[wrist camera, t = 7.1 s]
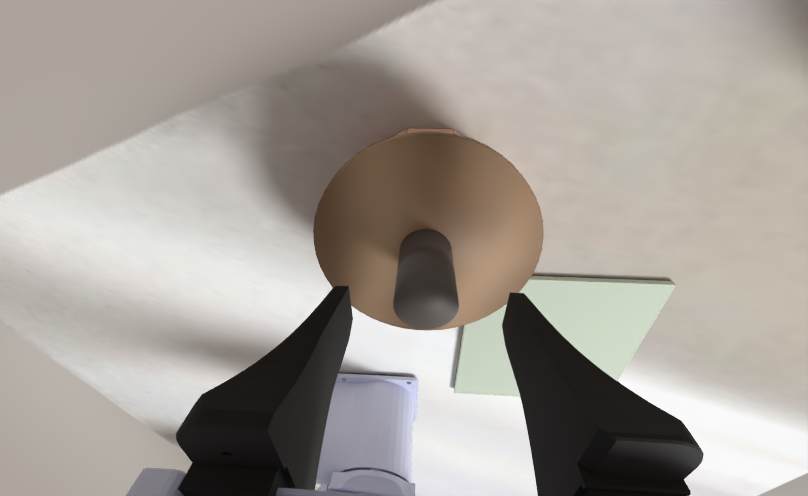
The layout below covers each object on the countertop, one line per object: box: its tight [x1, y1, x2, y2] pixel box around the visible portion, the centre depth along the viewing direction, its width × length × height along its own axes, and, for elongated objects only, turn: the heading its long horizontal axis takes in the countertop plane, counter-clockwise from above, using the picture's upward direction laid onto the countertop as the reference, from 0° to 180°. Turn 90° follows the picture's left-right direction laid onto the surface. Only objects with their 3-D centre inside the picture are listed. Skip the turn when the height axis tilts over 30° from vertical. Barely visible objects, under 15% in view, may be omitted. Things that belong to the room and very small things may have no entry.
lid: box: [313, 132, 543, 330], centre depth 17 cm, size 13×13×5 cm
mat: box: [454, 276, 676, 396], centre depth 30 cm, size 16×16×1 cm
